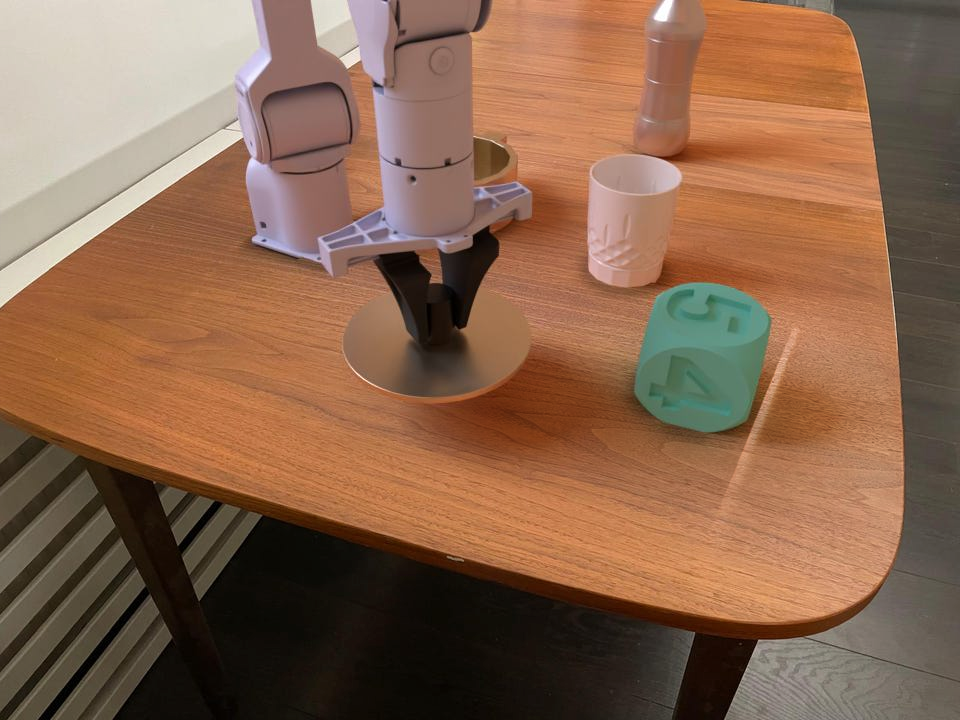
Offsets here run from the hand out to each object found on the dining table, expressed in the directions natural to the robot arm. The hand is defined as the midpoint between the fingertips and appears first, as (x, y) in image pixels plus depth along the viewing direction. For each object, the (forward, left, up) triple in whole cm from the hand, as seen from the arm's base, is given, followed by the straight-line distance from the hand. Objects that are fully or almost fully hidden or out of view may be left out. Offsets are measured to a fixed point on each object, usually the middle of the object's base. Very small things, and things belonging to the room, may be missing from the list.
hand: (436, 328), depth 54 cm
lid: (0, 0, -1) cm, 1 cm away
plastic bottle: (0, +50, -7) cm, 50 cm away
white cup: (+6, +23, -7) cm, 25 cm away
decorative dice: (+17, +9, -7) cm, 20 cm away
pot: (-14, +26, -6) cm, 30 cm away
